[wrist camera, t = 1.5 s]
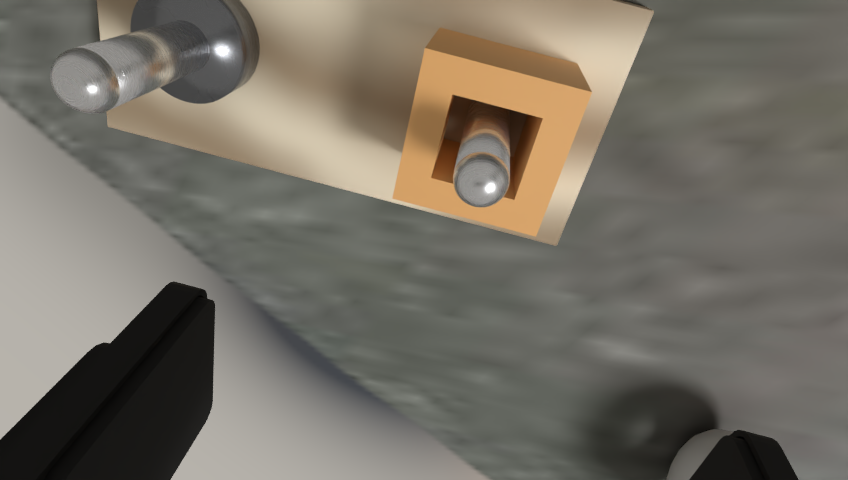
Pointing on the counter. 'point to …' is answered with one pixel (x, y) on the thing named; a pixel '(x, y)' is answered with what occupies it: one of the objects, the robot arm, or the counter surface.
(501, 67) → the collar
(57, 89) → the metal peg
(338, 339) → the counter surface
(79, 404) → the robot arm
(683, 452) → the donut
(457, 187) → the stand rod
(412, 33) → the board
